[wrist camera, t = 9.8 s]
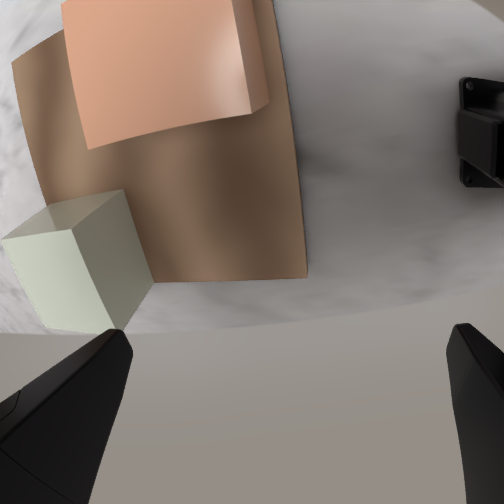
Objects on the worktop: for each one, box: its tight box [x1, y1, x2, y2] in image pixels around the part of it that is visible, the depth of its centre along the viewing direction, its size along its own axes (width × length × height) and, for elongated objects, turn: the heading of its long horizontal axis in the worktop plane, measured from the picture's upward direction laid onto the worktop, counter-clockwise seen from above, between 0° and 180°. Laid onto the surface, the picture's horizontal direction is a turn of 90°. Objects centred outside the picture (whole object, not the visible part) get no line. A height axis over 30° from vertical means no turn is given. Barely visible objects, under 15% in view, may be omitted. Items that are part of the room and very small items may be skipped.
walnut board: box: [12, 0, 308, 283], centre depth 18 cm, size 18×18×1 cm
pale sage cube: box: [1, 189, 154, 334], centre depth 19 cm, size 7×7×6 cm
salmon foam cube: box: [61, 0, 270, 150], centre depth 12 cm, size 7×7×6 cm
